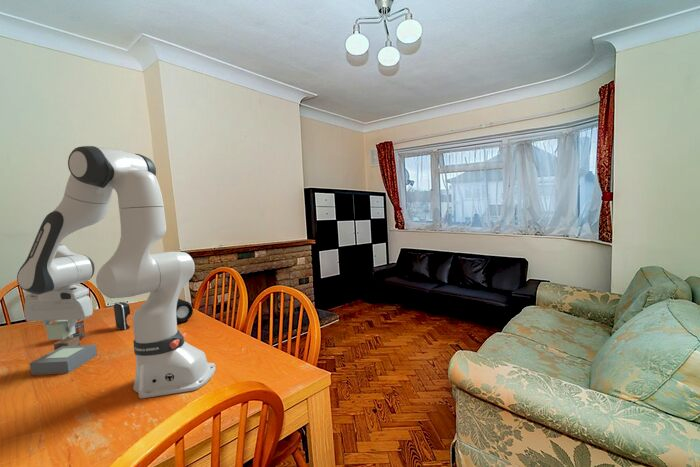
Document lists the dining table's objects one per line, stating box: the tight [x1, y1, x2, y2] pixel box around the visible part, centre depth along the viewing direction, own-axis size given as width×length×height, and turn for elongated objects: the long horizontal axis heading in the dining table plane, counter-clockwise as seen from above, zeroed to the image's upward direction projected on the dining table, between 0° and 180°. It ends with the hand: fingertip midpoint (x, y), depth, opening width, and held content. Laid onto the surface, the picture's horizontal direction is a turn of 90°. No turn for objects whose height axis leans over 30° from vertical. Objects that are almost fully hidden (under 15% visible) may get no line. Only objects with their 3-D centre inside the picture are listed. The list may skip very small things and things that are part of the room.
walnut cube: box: [53, 337, 81, 351], centre depth 116 cm, size 5×5×5 cm
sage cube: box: [45, 320, 76, 341], centre depth 107 cm, size 5×5×5 cm
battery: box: [113, 301, 131, 331], centre depth 139 cm, size 7×4×11 cm, turn 59°
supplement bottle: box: [66, 319, 86, 341], centre depth 129 cm, size 6×6×11 cm
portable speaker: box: [176, 298, 194, 323], centre depth 150 cm, size 26×10×10 cm, turn 52°
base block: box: [29, 344, 98, 376], centre depth 108 cm, size 12×12×4 cm
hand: (61, 331), depth 107 cm, fingers closed on sage cube, 5 cm apart
